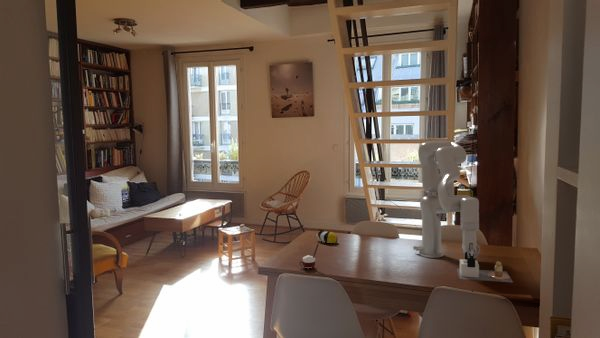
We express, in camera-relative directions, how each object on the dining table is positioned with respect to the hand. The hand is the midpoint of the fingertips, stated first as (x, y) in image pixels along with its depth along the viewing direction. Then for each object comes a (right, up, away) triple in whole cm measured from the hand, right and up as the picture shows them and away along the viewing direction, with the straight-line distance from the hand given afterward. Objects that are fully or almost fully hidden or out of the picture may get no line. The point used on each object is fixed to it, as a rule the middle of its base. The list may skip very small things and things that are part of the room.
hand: (469, 263), depth 186 cm
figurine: (-59, -3, +68) cm, 90 cm away
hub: (+12, -5, -2) cm, 13 cm away
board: (+6, -6, 0) cm, 9 cm away
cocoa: (-70, -7, +20) cm, 74 cm away
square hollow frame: (0, -5, +1) cm, 5 cm away
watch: (+8, -5, +20) cm, 22 cm away
